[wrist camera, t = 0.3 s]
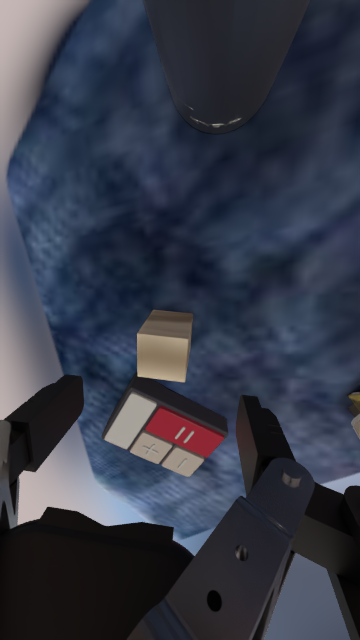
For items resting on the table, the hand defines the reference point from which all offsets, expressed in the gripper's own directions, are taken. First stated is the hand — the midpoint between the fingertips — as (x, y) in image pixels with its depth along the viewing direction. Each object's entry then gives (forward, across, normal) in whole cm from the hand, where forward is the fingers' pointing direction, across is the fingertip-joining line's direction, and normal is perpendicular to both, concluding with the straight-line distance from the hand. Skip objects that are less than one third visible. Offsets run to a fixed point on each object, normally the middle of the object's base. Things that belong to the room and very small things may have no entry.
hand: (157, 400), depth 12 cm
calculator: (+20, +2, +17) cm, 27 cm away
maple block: (+18, +2, +2) cm, 18 cm away
